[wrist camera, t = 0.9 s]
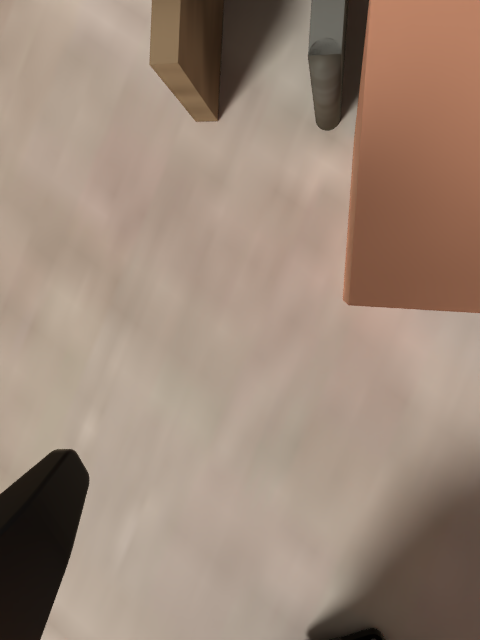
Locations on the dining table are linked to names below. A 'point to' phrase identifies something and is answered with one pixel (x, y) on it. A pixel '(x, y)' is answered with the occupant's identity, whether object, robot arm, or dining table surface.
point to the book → (417, 159)
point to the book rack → (205, 54)
